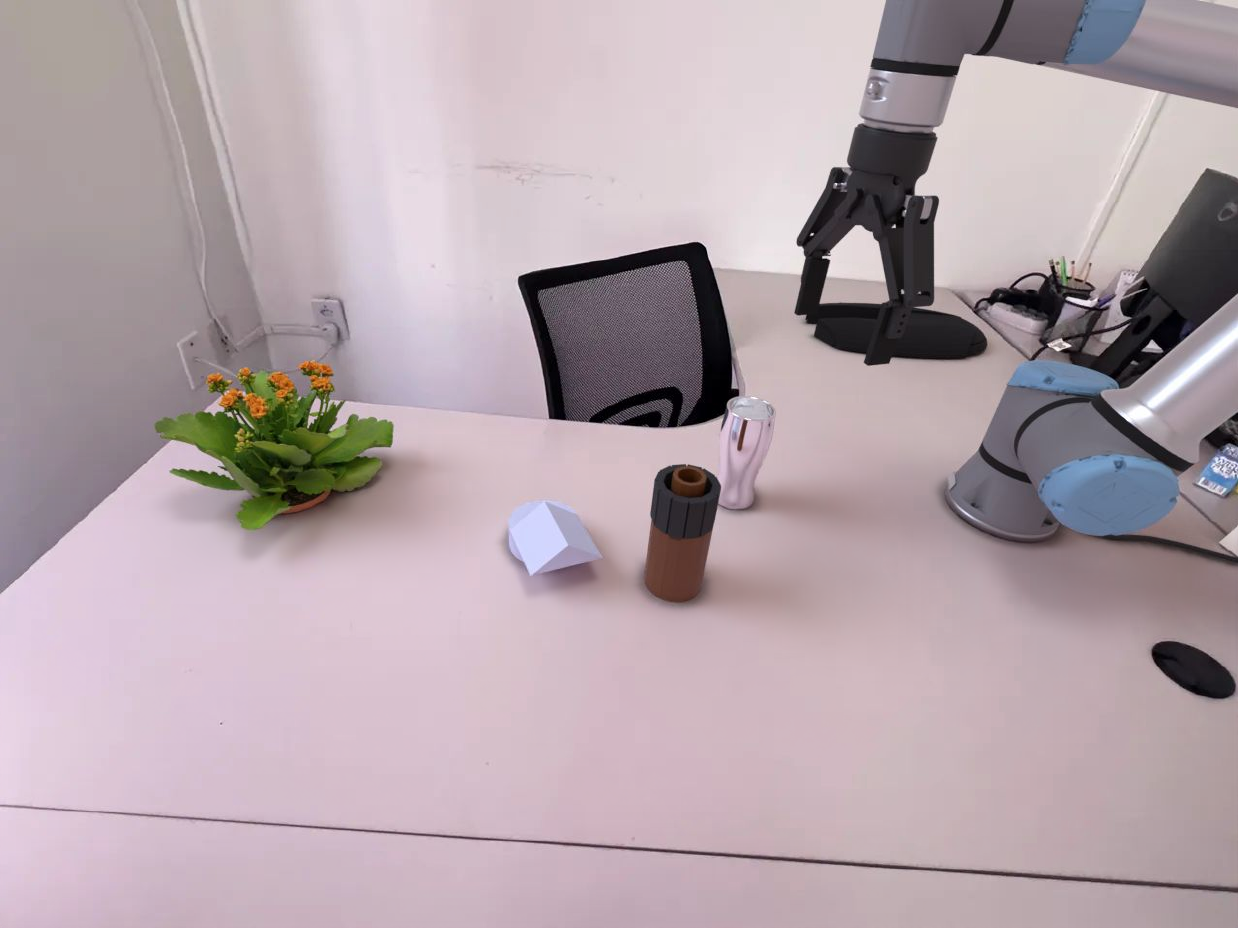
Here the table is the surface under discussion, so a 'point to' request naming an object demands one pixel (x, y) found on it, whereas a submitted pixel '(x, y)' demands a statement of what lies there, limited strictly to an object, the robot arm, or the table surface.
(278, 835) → the table surface
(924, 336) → the black flat oval pad
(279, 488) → the potted flower
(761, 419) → the beer glass
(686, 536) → the rubber collar
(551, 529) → the wedge on round base
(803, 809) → the table surface
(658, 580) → the brown bottle
